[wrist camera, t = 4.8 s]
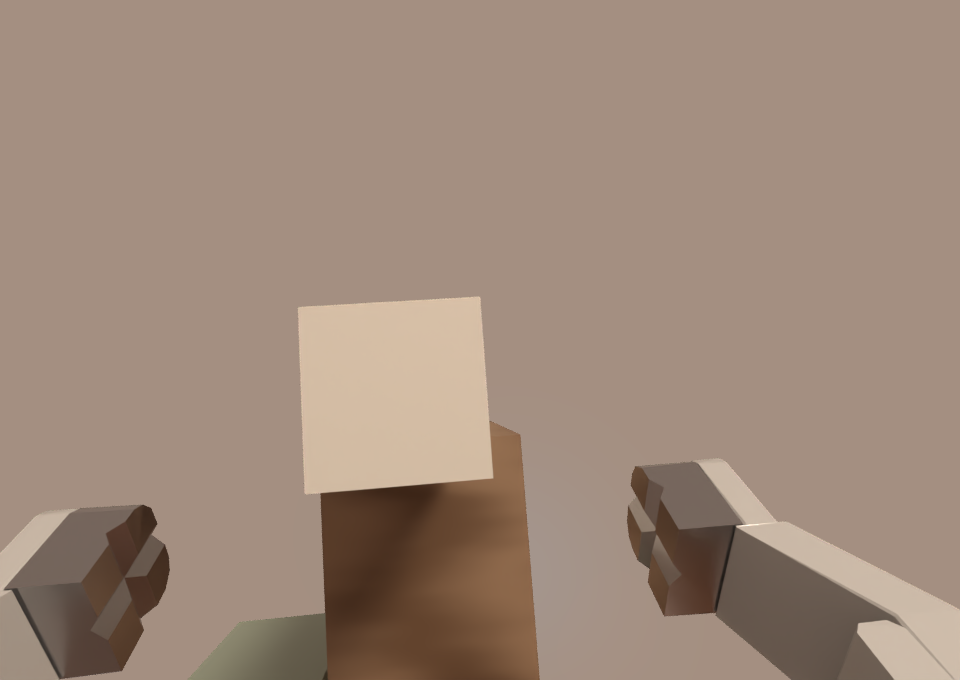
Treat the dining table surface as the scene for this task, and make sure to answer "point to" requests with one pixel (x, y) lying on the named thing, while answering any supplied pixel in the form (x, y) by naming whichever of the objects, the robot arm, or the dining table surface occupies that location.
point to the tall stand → (432, 578)
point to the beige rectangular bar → (393, 394)
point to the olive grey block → (270, 651)
